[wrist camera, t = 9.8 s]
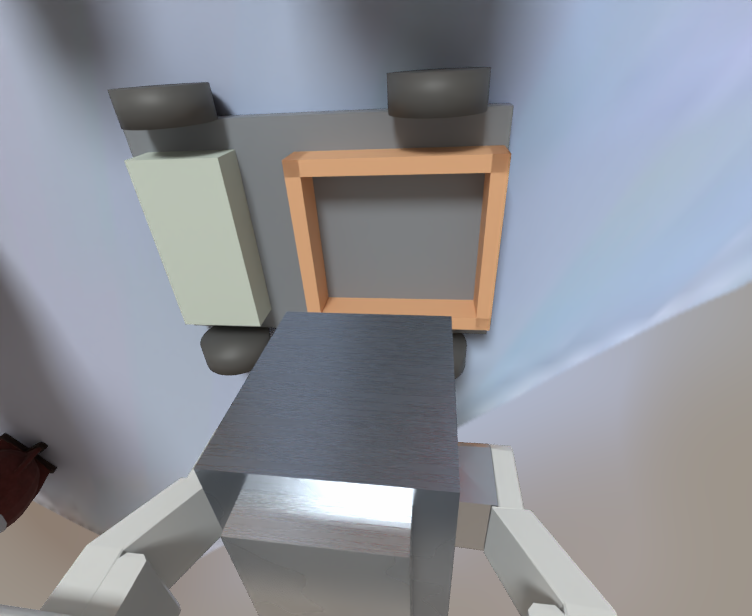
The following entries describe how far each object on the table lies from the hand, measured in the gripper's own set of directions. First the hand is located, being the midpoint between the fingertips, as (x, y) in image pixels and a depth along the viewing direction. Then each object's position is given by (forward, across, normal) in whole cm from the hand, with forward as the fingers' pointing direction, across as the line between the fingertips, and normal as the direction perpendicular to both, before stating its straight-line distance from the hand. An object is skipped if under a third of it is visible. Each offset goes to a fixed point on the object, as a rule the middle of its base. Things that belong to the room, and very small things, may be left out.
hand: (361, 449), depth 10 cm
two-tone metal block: (+2, 0, 0) cm, 2 cm away
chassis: (+15, +5, 0) cm, 16 cm away
